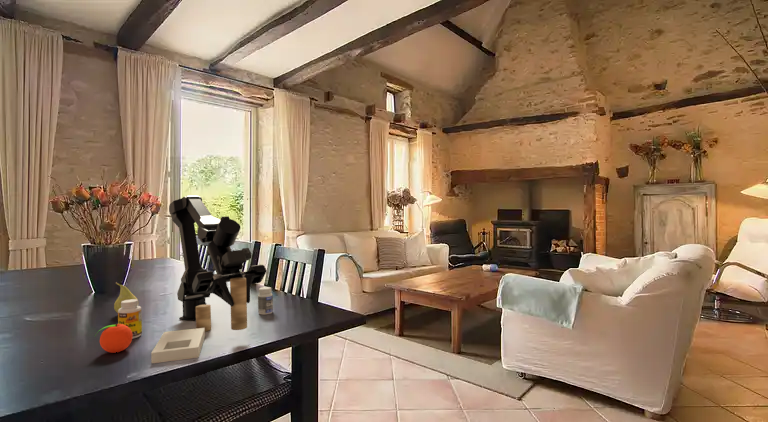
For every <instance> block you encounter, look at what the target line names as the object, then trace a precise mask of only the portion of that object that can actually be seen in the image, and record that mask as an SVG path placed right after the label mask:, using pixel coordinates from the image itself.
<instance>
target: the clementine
mask: <svg viewBox="0 0 768 422" xmlns="http://www.w3.org/2000/svg"><path fill="white" fill-rule="evenodd" d="M103 329H104V330H103ZM101 330H103V331H102V332H101V334H100V335H99V344H100V347H101V348H102V350H104V351H105V352H108V353H111V354H113V353H115V354H116V352H117V353H120V352H122V351H124V350H126V349H127V348H128V347H129V346H130V345H131V343H132V341H133V339H132V336H133V335H132V331H131V329H130V328H129V327H128V326H126V325H123V324H118V323H115V324H109V325H106V326H104V327H102V328H101V329H99V330H98V331H97V333H96V334H95V336H94V337H96V335H97V334H98V333H99V331H101Z"/></svg>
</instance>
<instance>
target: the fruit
mask: <svg viewBox="0 0 768 422" xmlns="http://www.w3.org/2000/svg"><path fill="white" fill-rule="evenodd" d="M115 285H118V286H119V288H120V290H119V291H120V292H119V295H118V297H117V298H116V299H115V302H114V304H113V308H114V309H113V310H114V311H115V312H116V314H118V310H119V309H120V308H121V302H122V301H124V300H130V299H137V300H138V305H139V298H137V297H136V296H135V295H134V294H133V293H132V292H131V290H129V288H128V287H127V286H125V285H123V284H120V283H118V282H117V281H116V282H115Z"/></svg>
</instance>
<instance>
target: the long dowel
mask: <svg viewBox="0 0 768 422" xmlns="http://www.w3.org/2000/svg"><path fill="white" fill-rule="evenodd" d="M229 286H230V290H229V292H230V294H231V296H232V299H233V302H234V305H233V306H230V329H231V330H232V331H242V330H245V329H247V328H248V309H247V308H248V305H247V304H248V303H247V293H246V278H243V277H240V278H232V279H230V282H229Z"/></svg>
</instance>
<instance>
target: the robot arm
mask: <svg viewBox="0 0 768 422" xmlns="http://www.w3.org/2000/svg"><path fill="white" fill-rule="evenodd" d="M202 198H203V197H201V196H199V195H186V196H183V197H181V198H179V199H176V200H172V202H171V203H170V204H169V205H168V213H169V214H170V215H171V216H170V217H171V220H172V222H173V223H174V224H175V225H176V226H177V227H178V229H179V235H180V237H179V238H180V244H181V251H182V258H183V264H184V272H183V274H182V276H181V278H180V283H179V288H178V290H177V293H176V295H177V300H178V301H180V302H182V316H180V317H178V318H179V320H186V321H196V306H199V305H207V302H206V298H211V294H214V295H215V296H217V297H219V298H220V299H221V300H222V301H224V302H225V303H227V304H228V305H229V306H230V307H231V306H233V305H234V302H233V299H232V296H231V294H230V290H229V287H228V284H227V283H230V279H232V278H240V277H243V278H246V293H247V304H250V302H251V286H252V285H256V284H260V283H261V282H262V281H263V279H264V277H265V275H266V274H267V269H266V266H265V265H264V264H257V265H256V264H254V265H250V266H249V268H248V270H246V271H241V270H243V268H244V266H243V264H244V263H246V262H247V261H250V259H252V255H253V254H252V252H251V250H250V248H249V247H243V248H241V249H237V250H232V248H231V247H232V246H233V245H234V244H235V242H236V240H237V239H238V238H237V237H238V235H239V233H240V231H241V225H240V223H239V222H237V221H236V220H234V219H231V218H230V216H229V215H228V216H221V217H220V219H219V218H217V217H215V216H213V214H211V212H210V211H209V209H208V208H207V206H206V205H205V203H204V202H203V199H202ZM195 224H196V225H197V230H196V225H195ZM196 231H197V232H196ZM197 238H198V240H200V242H201V243H202V244H206V243H208V245H207V252H206V253H207V254H206V256H208V257H209V256H210V259H211V262H212V265H213V266H212V270H213V271H214V272H215V273H214V272H213V271H212V270H211V271H208V270H207V269H204V268H203V267H202V266H201V265H202V264H201V259H200V252H199V246H198V240H197Z"/></svg>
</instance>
